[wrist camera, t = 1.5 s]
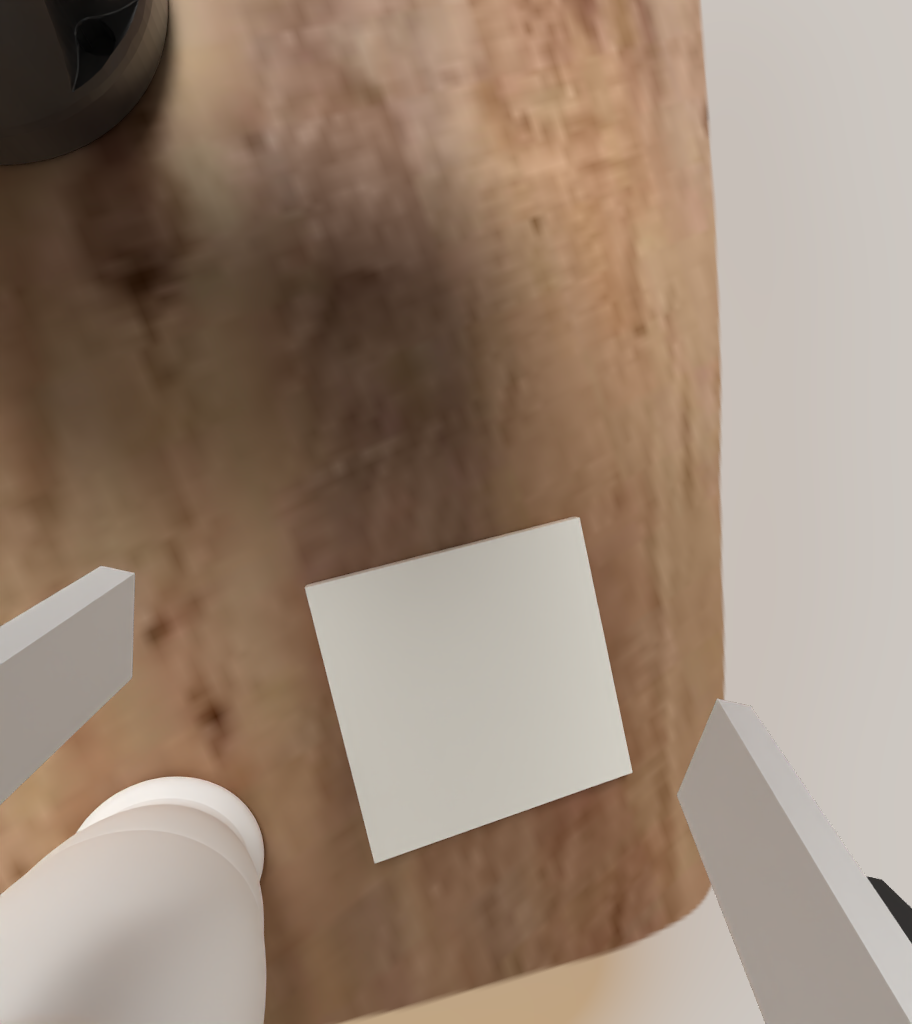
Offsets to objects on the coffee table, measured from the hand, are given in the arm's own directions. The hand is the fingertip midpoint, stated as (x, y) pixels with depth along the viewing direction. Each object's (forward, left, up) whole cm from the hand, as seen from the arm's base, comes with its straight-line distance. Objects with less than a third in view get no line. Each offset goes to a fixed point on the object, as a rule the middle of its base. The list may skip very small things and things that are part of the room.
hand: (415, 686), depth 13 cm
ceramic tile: (+6, +4, -16) cm, 17 cm away
